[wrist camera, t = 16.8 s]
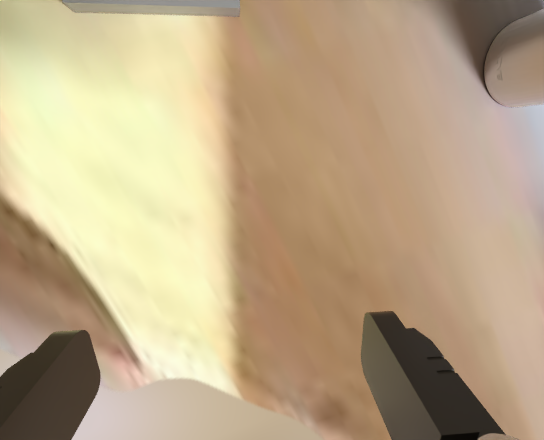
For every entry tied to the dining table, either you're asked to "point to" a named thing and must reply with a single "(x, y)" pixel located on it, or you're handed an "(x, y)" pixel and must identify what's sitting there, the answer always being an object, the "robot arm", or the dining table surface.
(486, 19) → the dining table surface
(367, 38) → the dining table surface
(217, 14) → the collar base
